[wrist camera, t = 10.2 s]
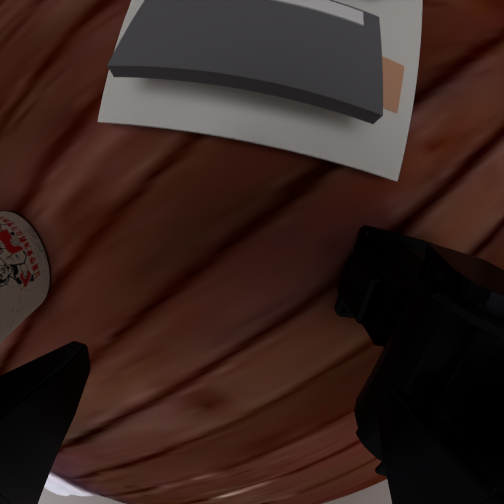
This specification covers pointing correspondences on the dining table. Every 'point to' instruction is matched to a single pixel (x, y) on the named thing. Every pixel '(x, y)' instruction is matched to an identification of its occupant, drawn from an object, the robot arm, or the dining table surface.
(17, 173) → the dining table surface
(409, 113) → the switch panel
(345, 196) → the dining table surface
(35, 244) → the teacup with lid
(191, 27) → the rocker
